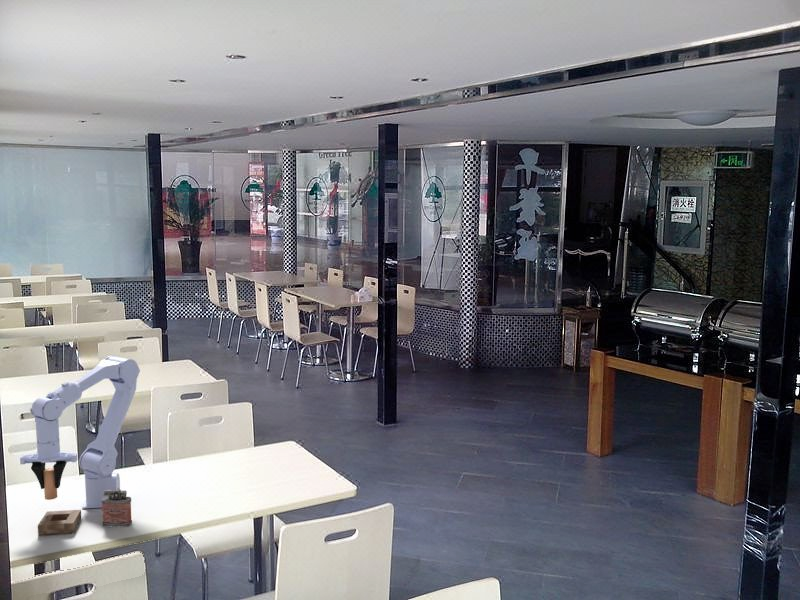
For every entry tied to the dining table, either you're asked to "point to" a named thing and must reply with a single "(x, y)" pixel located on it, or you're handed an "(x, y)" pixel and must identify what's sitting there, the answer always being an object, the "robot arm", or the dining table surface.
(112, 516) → the lighter
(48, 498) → the pin
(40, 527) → the hole block
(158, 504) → the dining table surface
